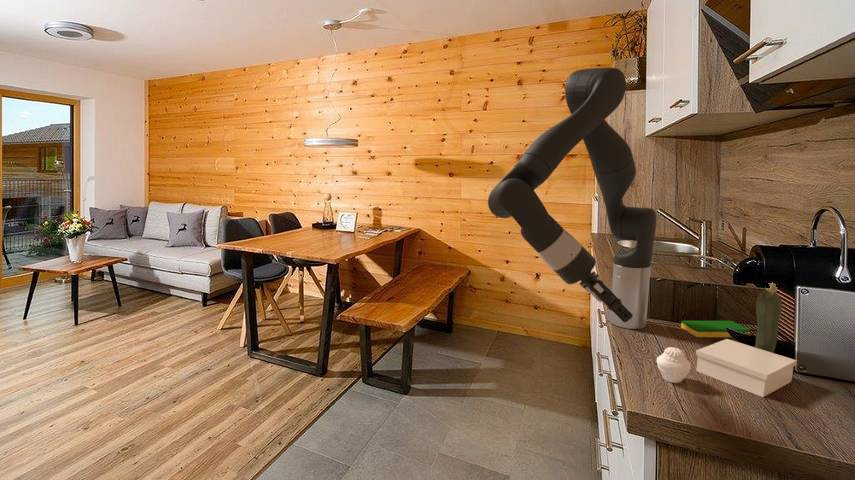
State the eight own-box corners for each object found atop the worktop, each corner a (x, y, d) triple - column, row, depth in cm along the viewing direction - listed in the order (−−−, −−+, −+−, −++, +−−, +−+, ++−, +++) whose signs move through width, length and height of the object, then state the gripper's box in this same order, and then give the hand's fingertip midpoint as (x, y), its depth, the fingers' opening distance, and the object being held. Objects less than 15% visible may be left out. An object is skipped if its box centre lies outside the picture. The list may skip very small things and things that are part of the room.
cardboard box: (693, 372, 87) (696, 350, 86) (724, 359, 93) (726, 338, 92) (764, 399, 76) (767, 375, 75) (793, 383, 82) (796, 360, 81)
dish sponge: (680, 328, 112) (680, 320, 112) (730, 328, 112) (731, 320, 112) (696, 338, 105) (697, 329, 105) (750, 338, 105) (751, 329, 104)
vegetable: (778, 365, 89) (790, 278, 86) (756, 364, 90) (767, 277, 87) (766, 357, 93) (777, 273, 90) (745, 355, 94) (755, 272, 91)
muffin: (668, 387, 80) (671, 354, 79) (648, 373, 86) (651, 342, 85) (696, 386, 81) (700, 353, 80) (675, 371, 87) (678, 340, 86)
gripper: (590, 249, 74) (650, 311, 75) (571, 238, 88) (622, 289, 89) (559, 277, 75) (618, 337, 76) (545, 261, 89) (595, 312, 90)
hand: (620, 311), depth 82 cm, fingers open, 8 cm apart
